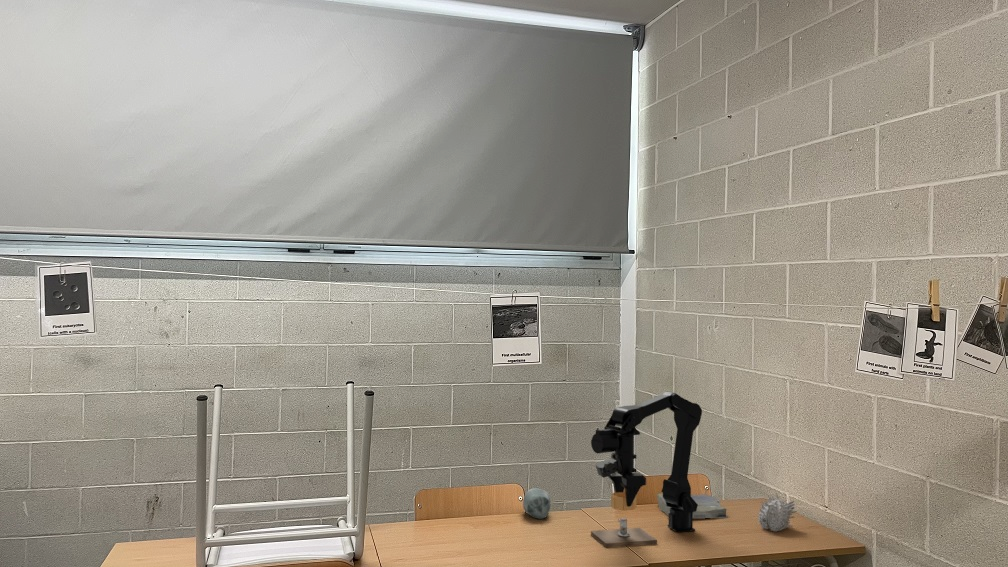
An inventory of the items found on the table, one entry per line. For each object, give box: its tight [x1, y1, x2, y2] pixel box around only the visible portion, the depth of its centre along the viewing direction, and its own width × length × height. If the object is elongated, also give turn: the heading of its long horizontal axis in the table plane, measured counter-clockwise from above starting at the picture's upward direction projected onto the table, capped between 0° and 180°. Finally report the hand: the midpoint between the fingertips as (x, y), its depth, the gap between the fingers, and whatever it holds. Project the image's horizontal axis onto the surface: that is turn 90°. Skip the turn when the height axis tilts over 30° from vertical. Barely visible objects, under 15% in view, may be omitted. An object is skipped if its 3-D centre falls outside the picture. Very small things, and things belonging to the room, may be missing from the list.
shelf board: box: [590, 527, 658, 549], centre depth 221 cm, size 16×12×1 cm
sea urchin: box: [756, 492, 798, 532], centre depth 234 cm, size 12×11×12 cm
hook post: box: [617, 517, 630, 537], centre depth 221 cm, size 4×4×5 cm
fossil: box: [656, 492, 728, 520], centre depth 253 cm, size 22×5×19 cm
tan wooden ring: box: [610, 491, 637, 511], centre depth 222 cm, size 7×7×4 cm
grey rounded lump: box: [522, 487, 551, 520], centre depth 246 cm, size 14×10×10 cm
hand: (623, 503), depth 222 cm, fingers closed on tan wooden ring, 7 cm apart
